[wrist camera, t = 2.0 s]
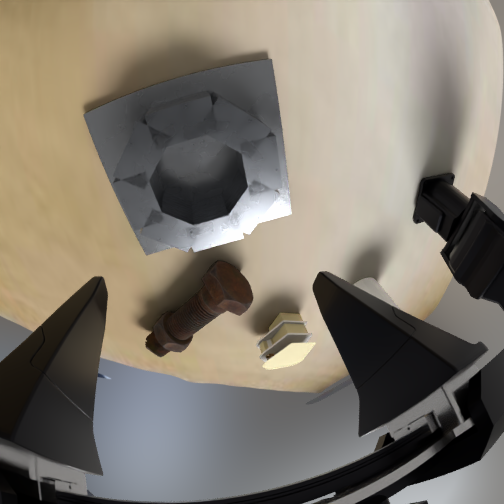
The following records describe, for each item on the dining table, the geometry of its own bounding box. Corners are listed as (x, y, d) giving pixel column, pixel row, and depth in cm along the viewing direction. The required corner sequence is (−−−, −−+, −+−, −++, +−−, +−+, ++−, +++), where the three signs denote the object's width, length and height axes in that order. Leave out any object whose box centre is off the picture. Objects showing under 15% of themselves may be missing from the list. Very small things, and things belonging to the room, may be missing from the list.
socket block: (269, 58, 16) (288, 59, 13) (289, 210, 25) (305, 236, 22) (85, 113, 15) (66, 125, 12) (146, 251, 25) (144, 281, 22)
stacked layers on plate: (264, 299, 34) (277, 335, 30) (319, 304, 37) (335, 335, 33) (236, 342, 39) (244, 375, 35) (287, 343, 43) (297, 372, 39)
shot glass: (386, 272, 36) (411, 307, 31) (368, 303, 40) (389, 337, 35) (350, 276, 34) (375, 316, 29) (333, 309, 39) (353, 347, 34)
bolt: (149, 321, 34) (224, 252, 29) (177, 346, 35) (257, 286, 30) (128, 347, 29) (207, 276, 23) (160, 374, 29) (248, 316, 24)
